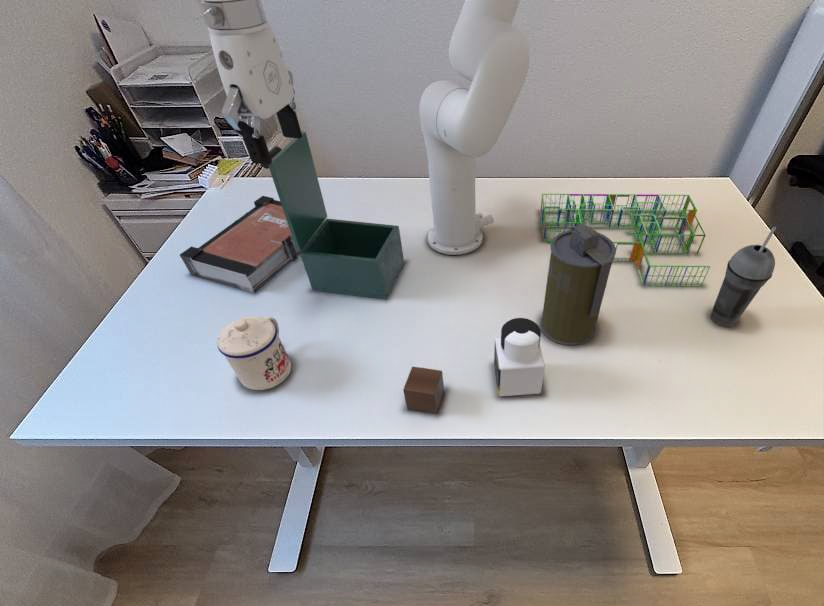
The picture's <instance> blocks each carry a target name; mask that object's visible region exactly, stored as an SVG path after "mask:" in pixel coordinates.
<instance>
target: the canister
mask: <svg viewBox="0 0 824 606" xmlns="http://www.w3.org/2000/svg"><path fill="white" fill-rule="evenodd" d="M573 226H574V225H573ZM563 231H564V230H563ZM550 241H551V244H550V256H549V263H548V271H547V279H546V286H545V294H544V300H543V308H542V315H541V318H540V321H539V328H540V330H541V333H543V335H544V336H545V337H546V338H547V339H548V340H550V341H552V342H555V343H557V344H559V345H564V346H578V345H582V344H585V343H586V342H588V341H590V340H591V339H592V338H593V337H594V335H595V333H596V331H597V323H598V320H599V314H600V311H601V307H602V304H603V300H604V295H605V291H606V289H607V284H608V280H609V276H610V272H611V268H612V265H613V262H614V261H613V259H614V258H616V254H617V250H616V244H615V245H614V243H613V242H614V241H613V240H611V239H610V238H609V237H608V236H606V235H605V234H603V233H600V232H599V231H597V230H596V229H593V228H592V227H590V226H588V225H587V224H586V225H585V223H582V224H580V225H577V226H574V227H572V228H571V227H569V229H568V230H565V231H564V232H559V233H558V234H557V235H556V234H555V237H554V236H553V238H552V239H551V240H550ZM614 260H615V259H614Z"/></svg>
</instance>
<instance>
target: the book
mask: <svg viewBox="0 0 824 606" xmlns="http://www.w3.org/2000/svg"><path fill="white" fill-rule="evenodd" d="M253 204H254V207H253V208H251V209H250V210H248V211H247V212H246V213H244V214H243V215H242V216H241V217H238V219H236V220H235V221H234V222H232V223H231V224H229V225H228V226H227V227H225V228H224V229H223V230H221V231H219V232H218V233H216V235H214V236H212V238H210V239H208V240H207V241H206V242H204V243H203V244H201V245H200V246H199V247H195V246H189V247H188V248H187V249H185V250H184V251H183V252H181V253H180V254H179V256H180V258H181V260H182V262H183V264H184V265H185V267H186V268H187V270H188V272H189V274H190V275H191V276H194V277H197V278H201V279H203V280H207V281H210V282H215V283H218V284H221V285H225V286H229V287H232V288H235V289H238V290H242V291H246V292H250V293H253V294H255V293H256V292H258V291H259V290H260V289H261V288H262V287H263V286H265V285H266V284H267V283H268V282H269V281H270V280H271V279H272V278H273V277H275V276H276V275H277V274H278V273H279V272H280V271H281V270H282V269H283V268H285V267H286V266H287V265H288V264H289V263H290V262H291V261H295V260H296V259H297V257H298V255H300V252H301V251H302V250H303V249H302V250H301V251H297V250H296V247H295V244H294V241H293V238H292V235H291V232H290V229H289V226H288V223H287V220H286V217H285V214H284V211H283V208H282V205H281V202H280V200H277V199H275V198H274V197H270V196H267V195H262V196H260V197H259V198H257V199H256V200H255V201H253ZM322 224H323V223H322ZM322 224H321V225H322ZM319 228H320V227H319ZM319 228H318V229H319ZM318 229H317V230H318ZM315 233H316V232H315ZM315 233H314V234H315ZM312 237H313V236H312ZM312 237H311V238H312ZM308 242H309V241H308ZM308 242H307V243H308ZM305 246H306V245H305ZM305 246H304V247H305Z"/></svg>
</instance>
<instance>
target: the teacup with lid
mask: <svg viewBox="0 0 824 606" xmlns="http://www.w3.org/2000/svg"><path fill="white" fill-rule="evenodd" d="M216 344H217V345H216V346H217V349H218V351H219V352H220V354H222V355H223V356H224V357H225V359H226V361H227V362H228V364H229V366H230V367H231V369H232V370H233V371H234V374H235V376H237V378H238V380H239V382H240V383H241V384H242V386H243V387H245V388H247V389H249V390H253V391H264V390H269V389H272V388H275V387H276V386H278V385H280V384H281V383H282V382H284V381H285V380H286V379H287V378H288V376H289V375H290V373H291V370H292V362H291V360H290V358H289V355H288V353H287V351H286V349H285V347H284V345H283V342H282V341H281V338H280V327H279V323H278V321H277V319H276V318H275V317H273V316H266V317H263V316H257V315H251V316H250V315H249V316H244V317H240V318H238V319H235V320H233V321H231V322H229V323H228V324H227V325H225V326H224V327H223V328H222V329H221V331H220V332H219V334H218V335H217V338H216Z"/></svg>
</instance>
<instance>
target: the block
mask: <svg viewBox="0 0 824 606" xmlns="http://www.w3.org/2000/svg"><path fill="white" fill-rule="evenodd" d="M443 374H444V373H443V370H440V369H433V368H426V367H420V366H411V369H410V371H409V374H408V376H407V379H406V382H405V383H404V386H403V397H404V400H405V405H406V409H407V410H411V411H418V412H424V413H425V412H426V413H428V414H429V413H431V414H435V415H436V414H438V411H439V408H440V405H441V402H442V398H443V396H444V393H445V386H444V385H445V384H444V375H443Z"/></svg>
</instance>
